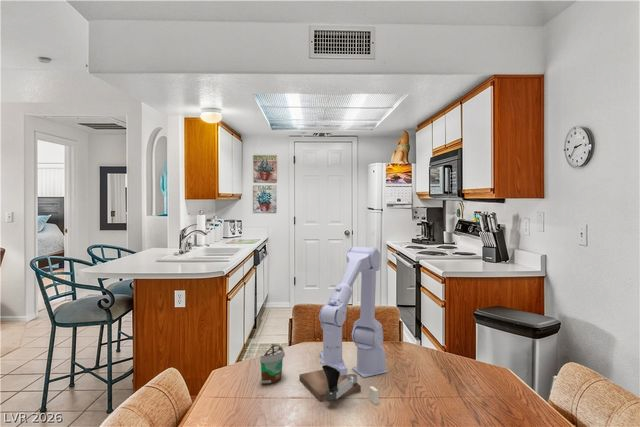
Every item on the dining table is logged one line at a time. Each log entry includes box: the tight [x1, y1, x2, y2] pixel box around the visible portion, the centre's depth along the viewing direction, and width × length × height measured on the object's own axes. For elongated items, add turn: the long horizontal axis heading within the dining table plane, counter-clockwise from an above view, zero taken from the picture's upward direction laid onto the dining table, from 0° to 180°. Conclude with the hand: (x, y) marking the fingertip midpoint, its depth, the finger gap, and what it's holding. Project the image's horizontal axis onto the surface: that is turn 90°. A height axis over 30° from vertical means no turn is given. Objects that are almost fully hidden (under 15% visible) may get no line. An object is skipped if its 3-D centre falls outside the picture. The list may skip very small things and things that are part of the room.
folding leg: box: [326, 373, 358, 403], centre depth 124 cm, size 15×3×2 cm, turn 146°
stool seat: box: [298, 369, 362, 403], centre depth 133 cm, size 14×16×2 cm
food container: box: [259, 343, 286, 386], centre depth 137 cm, size 12×6×10 cm, turn 168°
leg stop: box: [368, 385, 379, 405], centre depth 122 cm, size 1×3×4 cm, turn 26°
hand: (332, 389), depth 124 cm, fingers closed, pressing on folding leg
